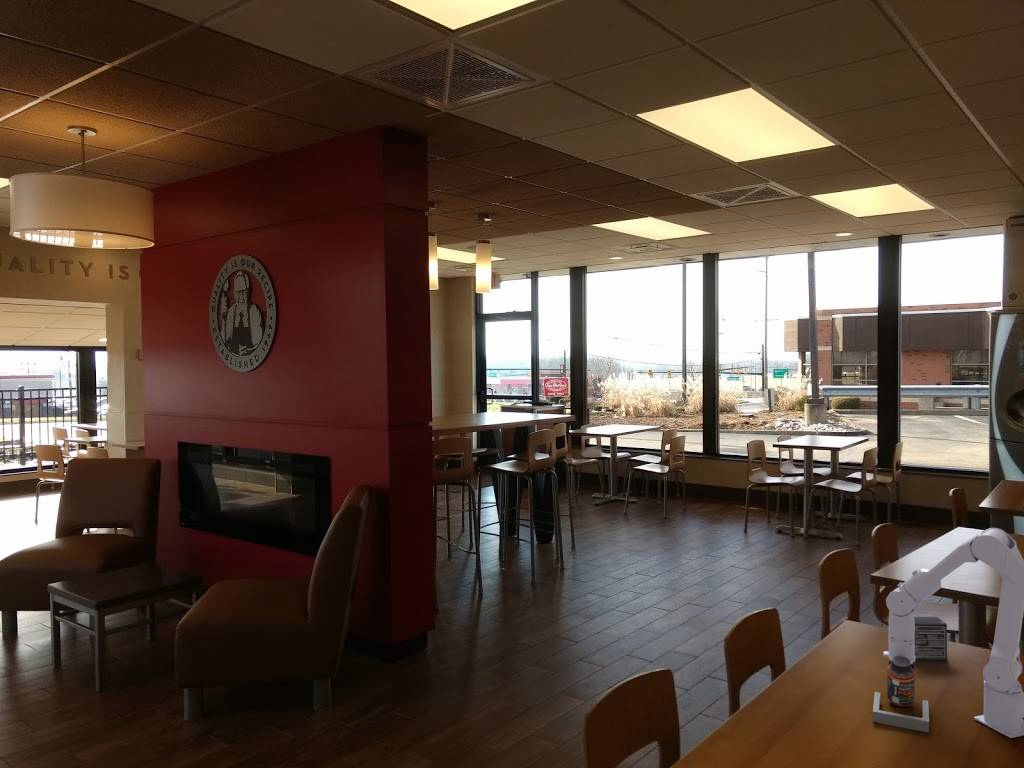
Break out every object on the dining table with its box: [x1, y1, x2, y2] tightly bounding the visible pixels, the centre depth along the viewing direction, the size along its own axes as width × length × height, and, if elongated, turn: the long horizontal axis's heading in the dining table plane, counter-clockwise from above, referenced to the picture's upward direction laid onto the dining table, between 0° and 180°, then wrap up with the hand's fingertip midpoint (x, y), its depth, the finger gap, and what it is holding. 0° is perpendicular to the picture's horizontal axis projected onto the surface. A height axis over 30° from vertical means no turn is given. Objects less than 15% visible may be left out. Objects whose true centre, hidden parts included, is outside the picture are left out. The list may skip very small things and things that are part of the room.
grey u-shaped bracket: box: [872, 691, 930, 733], centre depth 178 cm, size 11×11×2 cm
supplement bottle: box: [886, 656, 916, 708], centre depth 183 cm, size 6×6×11 cm
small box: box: [914, 616, 948, 662], centre depth 212 cm, size 11×6×10 cm, turn 84°
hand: (901, 691), depth 188 cm, fingers closed
